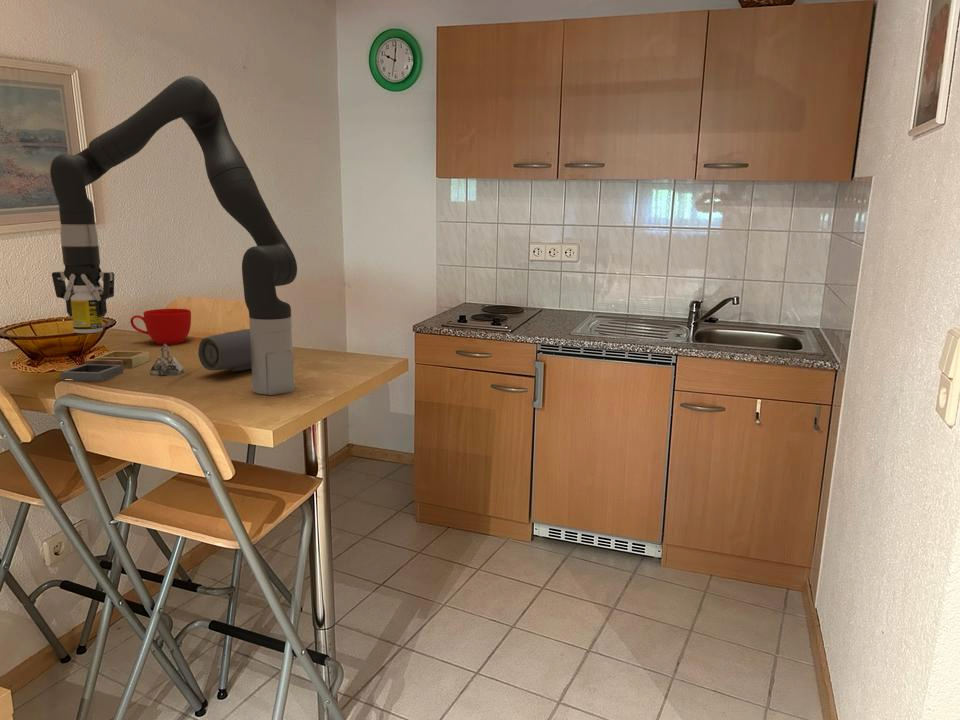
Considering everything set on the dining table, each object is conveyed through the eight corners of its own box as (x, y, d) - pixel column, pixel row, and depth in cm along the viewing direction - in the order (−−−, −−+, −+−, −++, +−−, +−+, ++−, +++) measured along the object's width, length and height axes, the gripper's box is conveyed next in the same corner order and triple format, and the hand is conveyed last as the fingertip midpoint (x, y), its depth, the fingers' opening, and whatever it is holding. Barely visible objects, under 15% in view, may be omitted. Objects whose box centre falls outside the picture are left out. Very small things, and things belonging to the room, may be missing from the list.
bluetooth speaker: (222, 378, 173) (220, 337, 171) (197, 373, 178) (195, 333, 176) (293, 362, 192) (292, 325, 190) (269, 358, 197) (267, 322, 195)
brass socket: (149, 360, 192) (148, 351, 191) (132, 368, 183) (132, 358, 182) (113, 360, 192) (113, 350, 191) (95, 367, 183) (94, 357, 182)
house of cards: (133, 380, 171) (130, 348, 170) (149, 372, 180) (147, 342, 178) (171, 380, 171) (168, 349, 170) (185, 372, 180) (183, 342, 178)
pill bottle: (94, 333, 167) (90, 286, 165) (68, 333, 167) (63, 286, 165) (108, 329, 173) (104, 283, 171) (83, 329, 173) (78, 283, 171)
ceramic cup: (138, 341, 220) (135, 308, 218) (196, 340, 223) (194, 308, 221) (126, 349, 207) (123, 314, 205) (188, 348, 210) (185, 314, 208)
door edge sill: (123, 369, 181) (122, 360, 180) (121, 370, 179) (120, 361, 179) (87, 369, 180) (86, 359, 180) (85, 370, 179) (84, 360, 179)
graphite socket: (122, 373, 177) (122, 365, 177) (100, 381, 168) (99, 373, 167) (85, 371, 178) (84, 363, 177) (61, 380, 168) (60, 372, 168)
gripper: (119, 244, 170) (125, 314, 173) (60, 243, 170) (67, 313, 174) (100, 245, 162) (107, 318, 165) (39, 244, 163) (47, 318, 166)
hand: (87, 316), depth 169 cm, fingers closed on pill bottle, 6 cm apart
